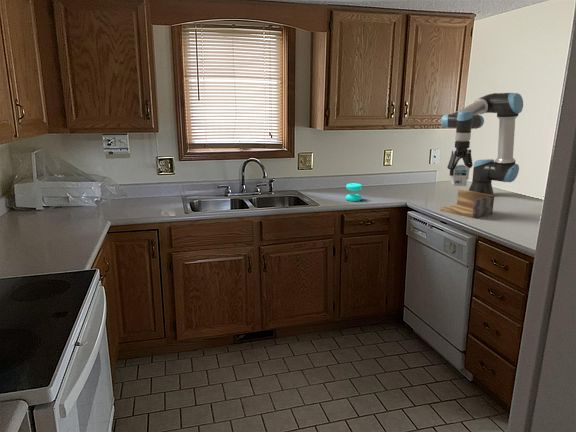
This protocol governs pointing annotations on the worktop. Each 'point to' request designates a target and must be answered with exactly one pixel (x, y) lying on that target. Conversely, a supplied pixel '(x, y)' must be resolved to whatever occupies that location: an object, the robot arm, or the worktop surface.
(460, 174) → the light bulb box
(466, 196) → the shelf
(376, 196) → the worktop surface
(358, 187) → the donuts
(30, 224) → the worktop surface
